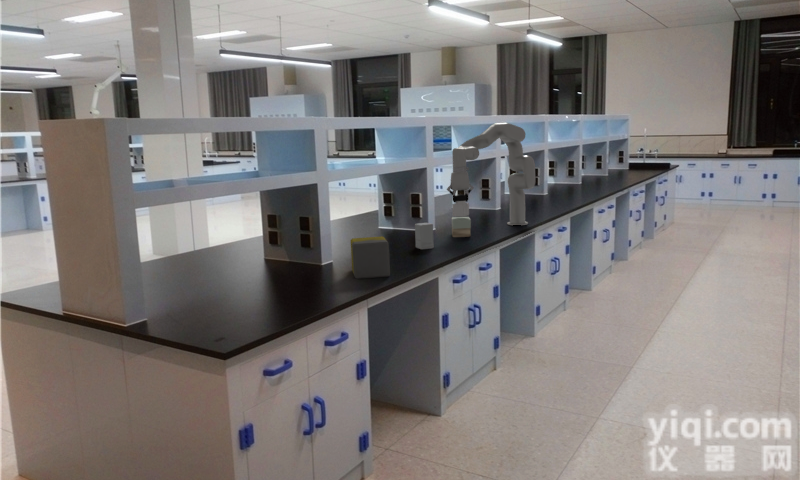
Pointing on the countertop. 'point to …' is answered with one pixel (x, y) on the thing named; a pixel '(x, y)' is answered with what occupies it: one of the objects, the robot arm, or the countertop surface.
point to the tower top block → (461, 222)
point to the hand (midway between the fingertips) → (460, 201)
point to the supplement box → (424, 235)
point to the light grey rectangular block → (460, 206)
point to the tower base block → (461, 232)
